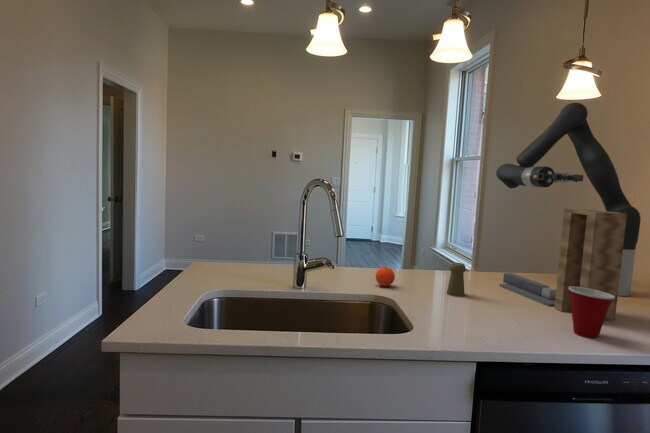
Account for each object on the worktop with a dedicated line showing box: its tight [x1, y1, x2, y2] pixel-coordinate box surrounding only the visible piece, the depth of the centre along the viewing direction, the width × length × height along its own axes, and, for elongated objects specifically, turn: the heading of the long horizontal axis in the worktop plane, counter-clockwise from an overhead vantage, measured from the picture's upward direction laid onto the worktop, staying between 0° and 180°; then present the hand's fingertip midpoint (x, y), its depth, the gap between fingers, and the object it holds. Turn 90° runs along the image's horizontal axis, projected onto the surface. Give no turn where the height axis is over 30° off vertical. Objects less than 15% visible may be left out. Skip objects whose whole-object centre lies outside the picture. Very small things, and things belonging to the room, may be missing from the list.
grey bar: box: [502, 272, 556, 299], centre depth 162 cm, size 4×24×4 cm, turn 15°
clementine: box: [375, 266, 397, 287], centre depth 161 cm, size 8×7×7 cm
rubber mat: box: [499, 283, 555, 307], centre depth 158 cm, size 11×26×1 cm, turn 14°
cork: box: [446, 262, 467, 298], centre depth 154 cm, size 6×6×11 cm
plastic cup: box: [569, 286, 615, 339], centre depth 118 cm, size 11×11×12 cm
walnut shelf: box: [553, 208, 627, 321], centre depth 136 cm, size 11×12×32 cm
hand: (571, 177), depth 148 cm, fingers open, 8 cm apart
